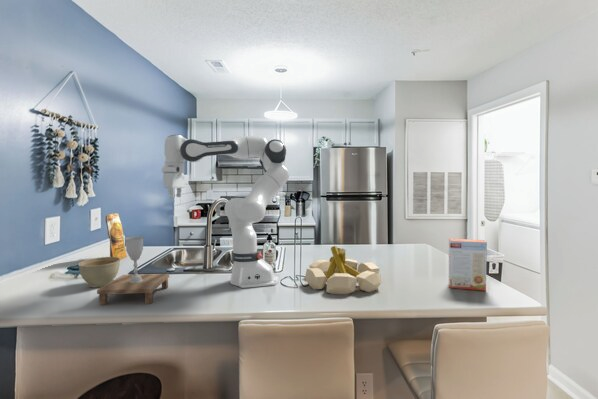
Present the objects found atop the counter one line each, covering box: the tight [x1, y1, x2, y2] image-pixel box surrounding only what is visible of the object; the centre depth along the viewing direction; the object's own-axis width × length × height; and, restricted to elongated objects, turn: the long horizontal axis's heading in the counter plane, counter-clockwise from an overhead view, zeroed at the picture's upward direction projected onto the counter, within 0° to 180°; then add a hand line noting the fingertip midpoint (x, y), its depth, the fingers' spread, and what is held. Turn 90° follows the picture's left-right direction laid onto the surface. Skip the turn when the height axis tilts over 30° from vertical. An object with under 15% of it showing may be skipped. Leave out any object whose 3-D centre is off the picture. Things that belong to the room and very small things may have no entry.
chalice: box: [124, 236, 145, 283], centre depth 130 cm, size 7×7×18 cm
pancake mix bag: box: [105, 212, 128, 261], centre depth 193 cm, size 7×19×28 cm, turn 3°
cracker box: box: [448, 238, 488, 292], centre depth 138 cm, size 14×6×21 cm, turn 71°
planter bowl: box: [78, 256, 121, 288], centre depth 146 cm, size 16×16×11 cm
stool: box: [96, 273, 170, 306], centre depth 131 cm, size 20×20×6 cm
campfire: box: [304, 245, 382, 295], centre depth 146 cm, size 35×34×17 cm
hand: (175, 197), depth 154 cm, fingers open, 8 cm apart
